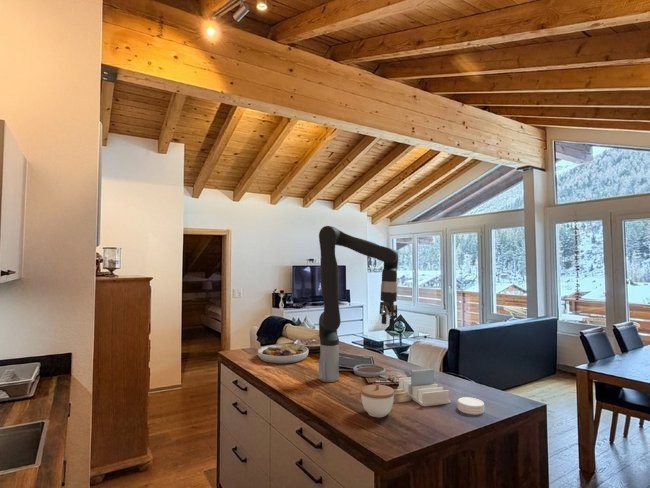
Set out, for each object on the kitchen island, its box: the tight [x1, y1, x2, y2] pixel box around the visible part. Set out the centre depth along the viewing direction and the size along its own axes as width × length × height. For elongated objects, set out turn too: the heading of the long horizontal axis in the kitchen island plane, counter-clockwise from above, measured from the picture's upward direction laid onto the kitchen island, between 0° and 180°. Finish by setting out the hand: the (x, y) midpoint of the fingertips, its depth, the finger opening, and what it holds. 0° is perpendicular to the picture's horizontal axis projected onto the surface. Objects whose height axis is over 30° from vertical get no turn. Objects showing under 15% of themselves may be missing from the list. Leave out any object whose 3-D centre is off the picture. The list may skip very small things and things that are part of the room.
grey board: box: [410, 368, 435, 394], centre depth 168 cm, size 10×2×10 cm, turn 107°
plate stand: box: [393, 388, 412, 404], centre depth 164 cm, size 12×8×3 cm, turn 107°
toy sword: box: [352, 363, 397, 383], centre depth 197 cm, size 17×3×28 cm
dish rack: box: [397, 376, 452, 407], centre depth 168 cm, size 13×22×5 cm, turn 17°
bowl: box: [257, 343, 309, 365], centre depth 231 cm, size 30×30×8 cm
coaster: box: [456, 396, 485, 416], centre depth 153 cm, size 10×10×4 cm
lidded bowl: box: [360, 383, 395, 418], centre depth 149 cm, size 13×13×11 cm
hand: (387, 325), depth 182 cm, fingers open, 8 cm apart
